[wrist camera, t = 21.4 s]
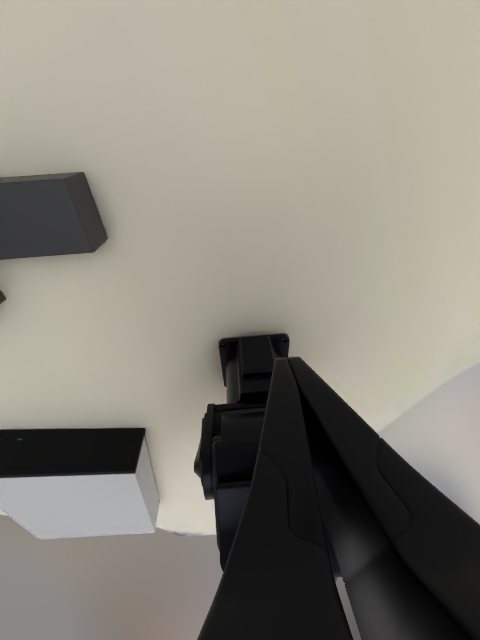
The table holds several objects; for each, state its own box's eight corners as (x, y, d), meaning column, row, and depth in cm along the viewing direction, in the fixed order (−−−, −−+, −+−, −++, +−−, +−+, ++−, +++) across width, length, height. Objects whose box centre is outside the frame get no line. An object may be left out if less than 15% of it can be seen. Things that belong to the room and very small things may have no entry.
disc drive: (144, 427, 31) (134, 471, 27) (161, 498, 45) (155, 535, 41) (-14, 429, 30) (-50, 476, 26) (53, 503, 43) (36, 541, 39)
